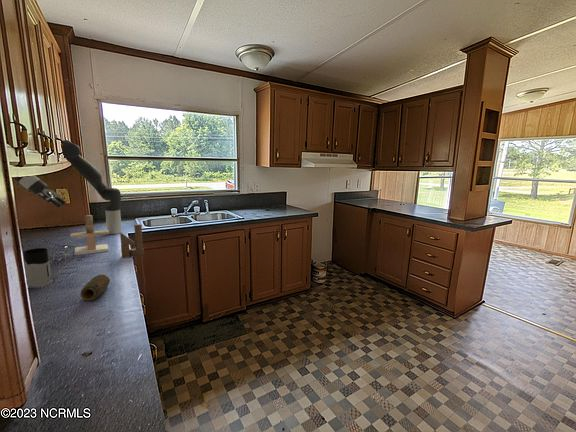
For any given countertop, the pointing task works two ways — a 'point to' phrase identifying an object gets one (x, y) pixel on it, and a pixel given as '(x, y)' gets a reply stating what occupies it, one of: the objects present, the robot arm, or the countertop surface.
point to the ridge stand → (91, 247)
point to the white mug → (38, 266)
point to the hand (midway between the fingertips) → (62, 204)
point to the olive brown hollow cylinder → (95, 287)
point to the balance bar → (89, 229)
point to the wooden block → (127, 241)
